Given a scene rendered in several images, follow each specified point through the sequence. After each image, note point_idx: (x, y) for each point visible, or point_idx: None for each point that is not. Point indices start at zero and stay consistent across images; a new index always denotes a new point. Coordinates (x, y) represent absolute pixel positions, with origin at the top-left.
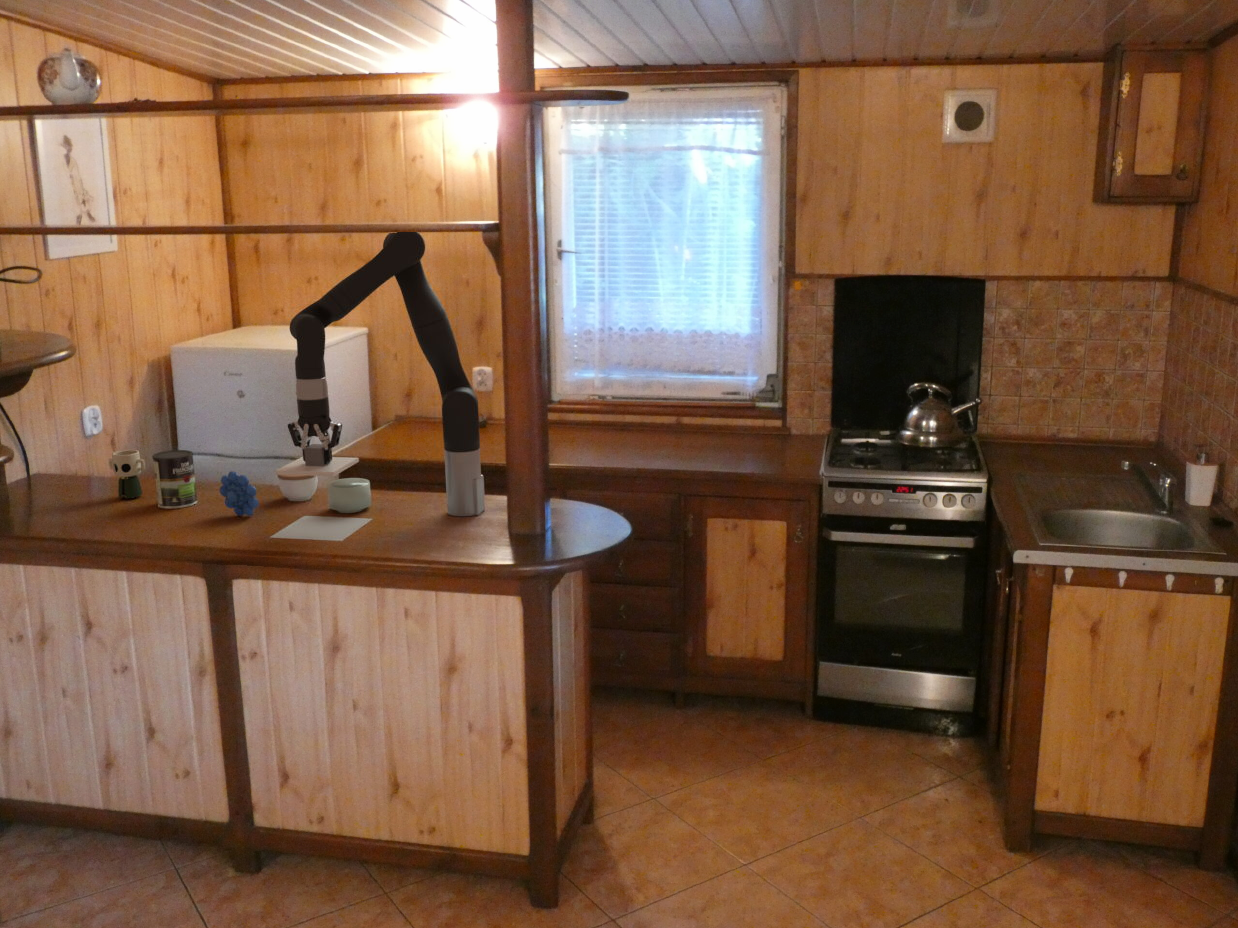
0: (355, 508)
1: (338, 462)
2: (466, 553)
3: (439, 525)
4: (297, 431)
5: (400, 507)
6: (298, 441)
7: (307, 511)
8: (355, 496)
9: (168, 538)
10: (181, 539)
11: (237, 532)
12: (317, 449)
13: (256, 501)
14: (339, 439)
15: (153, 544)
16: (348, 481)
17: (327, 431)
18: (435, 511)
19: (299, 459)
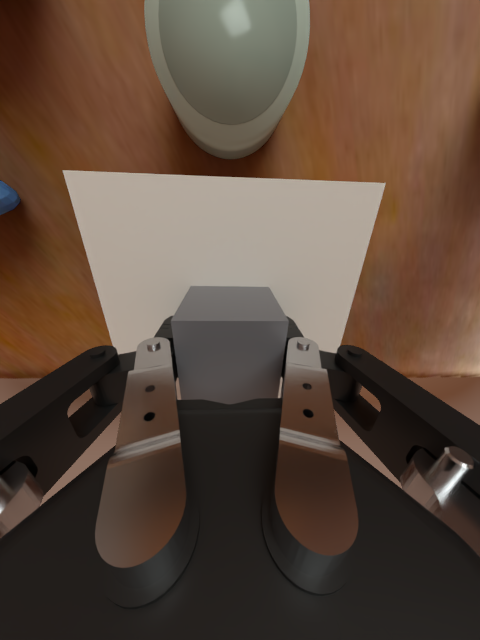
0: (262, 145)
1: (305, 290)
2: (469, 346)
3: (449, 212)
4: (33, 447)
5: (359, 34)
6: (114, 407)
7: (120, 123)
8: (269, 131)
9: (3, 349)
10: (29, 350)
11: (87, 306)
12: None
13: (6, 200)
14: (393, 371)
15: (11, 374)
16: (219, 1)
17: (330, 412)
18: (455, 76)
19: (98, 254)
